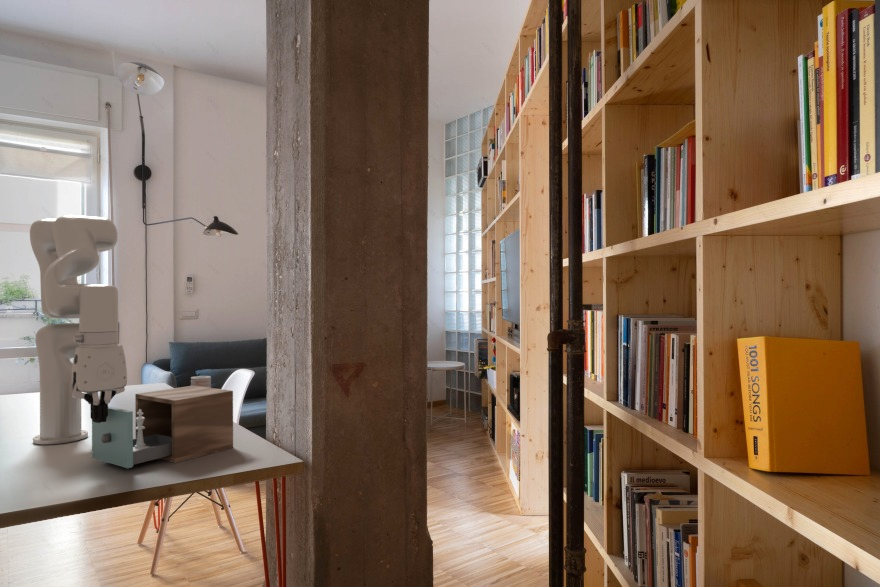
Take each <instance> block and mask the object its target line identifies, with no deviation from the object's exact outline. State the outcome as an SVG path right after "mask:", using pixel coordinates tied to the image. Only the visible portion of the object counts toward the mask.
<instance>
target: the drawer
mask: <svg viewBox="0 0 880 587" xmlns="http://www.w3.org/2000/svg"><path fill="white" fill-rule="evenodd" d="M133 413H134V412H133V410H128V409H123V408H119V407H118V408H117V407H112V406H108V417H107V421H106V422H101V423H96V422H93V421H92V420H91V458H93V459H95V460H97V461H98V460H99V461H101V462H106V463H108V464H112V465H116V466H119V467H121V468H125V469H130V468H133V467H134V465H137V464H141V463H145V462H150V461H153V460H159V458H162V457H166V456H170V455H172V437H170V436H166V435H161V434H154V435H149V436H145V437H143V439H144V444H146V445H145V446H150V447H149V448H145V449H140V450H136V451H133V447H135V445H136V442H137V438H136V437H135V438H134V435H133V434H134V428H133V427H134V426H133V425H134V422H133V420H134V419H133V418H134V414H133Z"/></svg>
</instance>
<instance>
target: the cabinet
mask: <svg viewBox="0 0 880 587" xmlns="http://www.w3.org/2000/svg"><path fill="white" fill-rule="evenodd" d="M134 399H135V405H134V406H135V410H134V412H135V418H137V417H139V414H137V412H139V410H142V412H143V415H142V417H145V419H144V422H143V425H142V426H143V427H145V429H142V432H143V437H145V436H149V435H154V434H161V435H166V436H170V437H172V455H170V456H166V457H162V458H158V460H162V459H163V460H162V461H166V460H167V462H170V461H171V463H173V462H176V463H180V462H183V460H184V461H188V460H191V459H195V457H196V458H200V457H203V456H206V454H207V455H210V454H209V453H211V454H214V453H213V452H215V453H217V451H219V452H221V450H222V451H226V450H230V449H233V448H234V391H233V390H228V389H222V388H213V387H211V388H208V387H201V386H194V385H193V386H191V385H188V386H182V387H175V388H168V389H167V388H165V389H161V390H154V391H145V392H140V393H139V392H138V393H135V398H134ZM137 426H138V425H137V422H136V421H135V428H136V427H137ZM137 435H138V430H136V429H135V438H137ZM225 449H226V450H225ZM202 455H203V456H202ZM187 459H188V460H187ZM179 461H180V462H179Z"/></svg>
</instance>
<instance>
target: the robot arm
mask: <svg viewBox="0 0 880 587" xmlns="http://www.w3.org/2000/svg"><path fill="white" fill-rule="evenodd" d="M29 241H30V246H31V249H32V251H33V254H34V256H35V259H36V261H37V264H38V266H39V271H40V274H39V276H40V278H39V279H40V303H41V311H42V314H43V315H44V316H45V317H47V318H49V319H57V320H59V319H60V320H63V319H64V320H66V319H68V320H69V319H71V320H72V319H79V323H77V322H76V323H75V322H69V323H67V322H66V323H51V324H47V325H44V326H42V327H40V328H39V329H38V330H37V331H36V334H35V348H36V351H37V352H36V353H37V357H38V367H39V369H38V370H39V434H38V435H35V436H33V438H32V443H33V444H36V445H57V444H59V445H60V444H65V443H72V442H77V441H81V440H84V439H85V438H87V437H88V436H89V432H88V430H84V429H82V400H85V401H86V402H87V403H88V405H90V420H91V422H92V421H93V422H96V423H101V422H106V421H107V417H108V407H109V404H110V403H111V401H112V399H113V398H114V397H115V395H118V394H121V393H123V392H125V390H126V388H125V387H126V386H127V384H128V371H127V363H126V362H127V361H126V356H125V350H124V346H123V344H119V290H118V288H117V287H116V286H115V285H113V284H102V283H101V284H97V283H96V284H94V283H93V284H91V283H90V284H89V283H78V277H80V276H82V275H85V274H89V273H90V272H91V271H93V270H95V268H96V267H97V266H98V265H99V263H100V262H99V261H100V256H99V253H102V252H108V251H110V250H111V251H112V249H114V248H115V246H116V245H117V242H118V230H117V227H116V224H115V223H114V222H113V221H112V220H111V219H109V218H107V217H101V216H90V215H76V214H75V215H73V214H69V215H68V214H67V215H63V216H59V217H57V218H44V219H43V218H42V219H37V220H35V221H34V222H32V223H31V226H30V228H29ZM71 359H73V360H72V361H73V362H72V361H71Z"/></svg>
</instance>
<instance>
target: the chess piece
mask: <svg viewBox="0 0 880 587" xmlns="http://www.w3.org/2000/svg"><path fill="white" fill-rule="evenodd" d="M137 414H139V417H137V418H136V417H134V418H135V420H134V421H135V423H136V422H137V425H138V426H137V427H136V426H135V428H134V430H135V431H136V430H138V435H137V442H136V445H135V447H133V451H136V450H140V449H145V448H149V447H150V446H145V445H146V444H144V439H143V432H142V429H145V427H143V426H142V425H143V422H144V419H145V417H142V415H143V412H142V410H139V412H137Z"/></svg>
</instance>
